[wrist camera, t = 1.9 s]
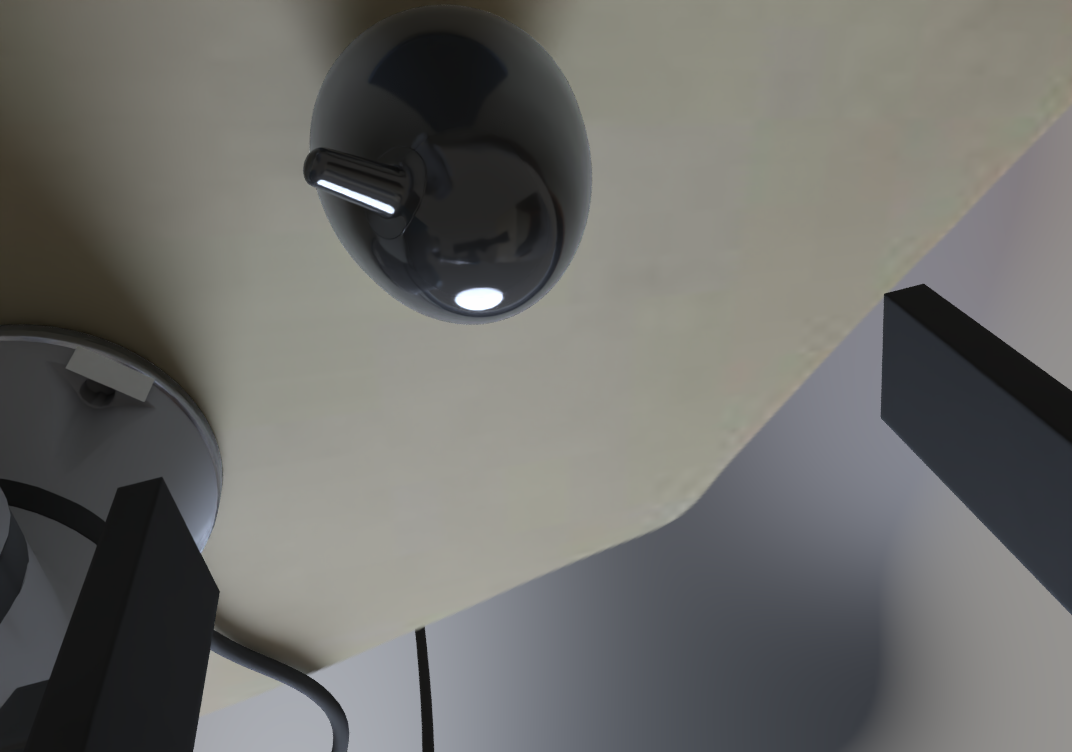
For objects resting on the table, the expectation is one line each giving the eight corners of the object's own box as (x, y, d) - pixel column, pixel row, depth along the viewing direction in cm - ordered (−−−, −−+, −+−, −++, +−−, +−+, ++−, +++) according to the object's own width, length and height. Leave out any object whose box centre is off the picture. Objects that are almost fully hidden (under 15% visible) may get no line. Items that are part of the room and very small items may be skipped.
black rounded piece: (375, -66, 34) (395, -18, 21) (603, 72, 38) (738, 183, 25) (267, 172, 37) (226, 339, 24) (486, 275, 41) (550, 465, 28)
